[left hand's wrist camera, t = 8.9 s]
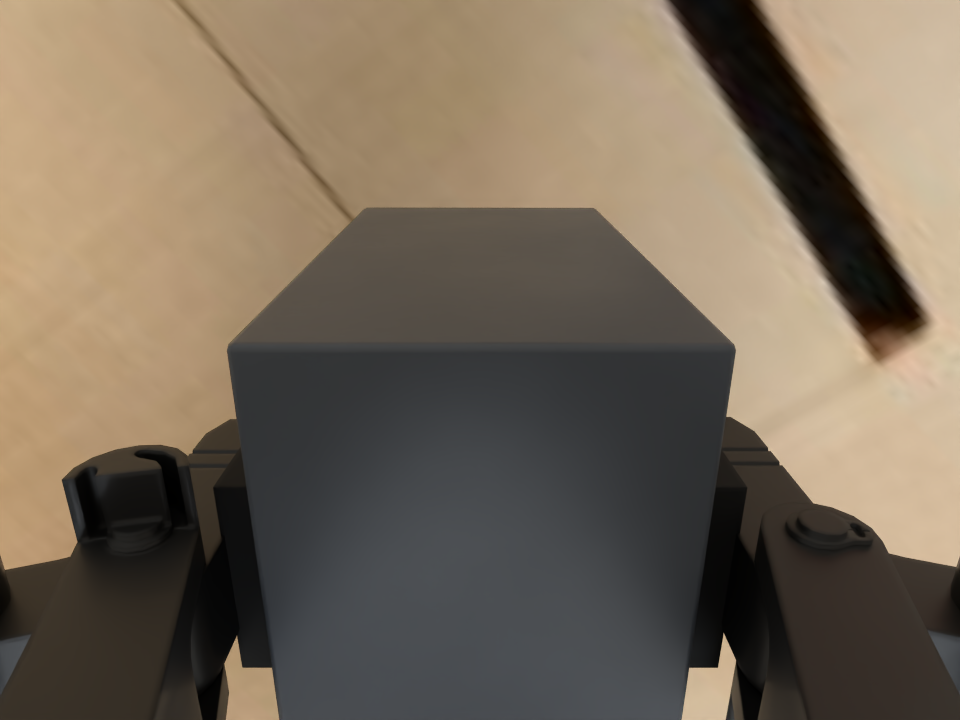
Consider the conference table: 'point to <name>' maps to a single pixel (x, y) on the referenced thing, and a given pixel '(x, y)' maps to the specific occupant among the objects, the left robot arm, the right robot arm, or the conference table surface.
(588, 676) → the bar
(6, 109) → the conference table surface
